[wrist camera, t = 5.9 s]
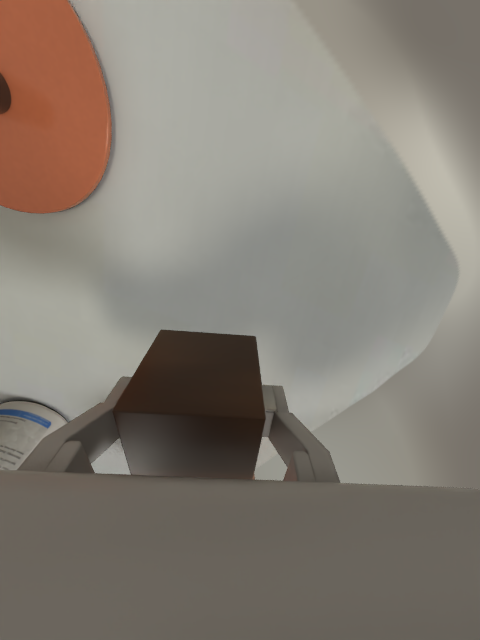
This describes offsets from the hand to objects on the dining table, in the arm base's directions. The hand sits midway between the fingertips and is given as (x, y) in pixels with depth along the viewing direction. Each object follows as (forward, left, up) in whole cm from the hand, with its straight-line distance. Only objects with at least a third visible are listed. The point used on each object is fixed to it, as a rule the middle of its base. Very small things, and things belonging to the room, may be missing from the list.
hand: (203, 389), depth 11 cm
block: (0, 0, -2) cm, 2 cm away
